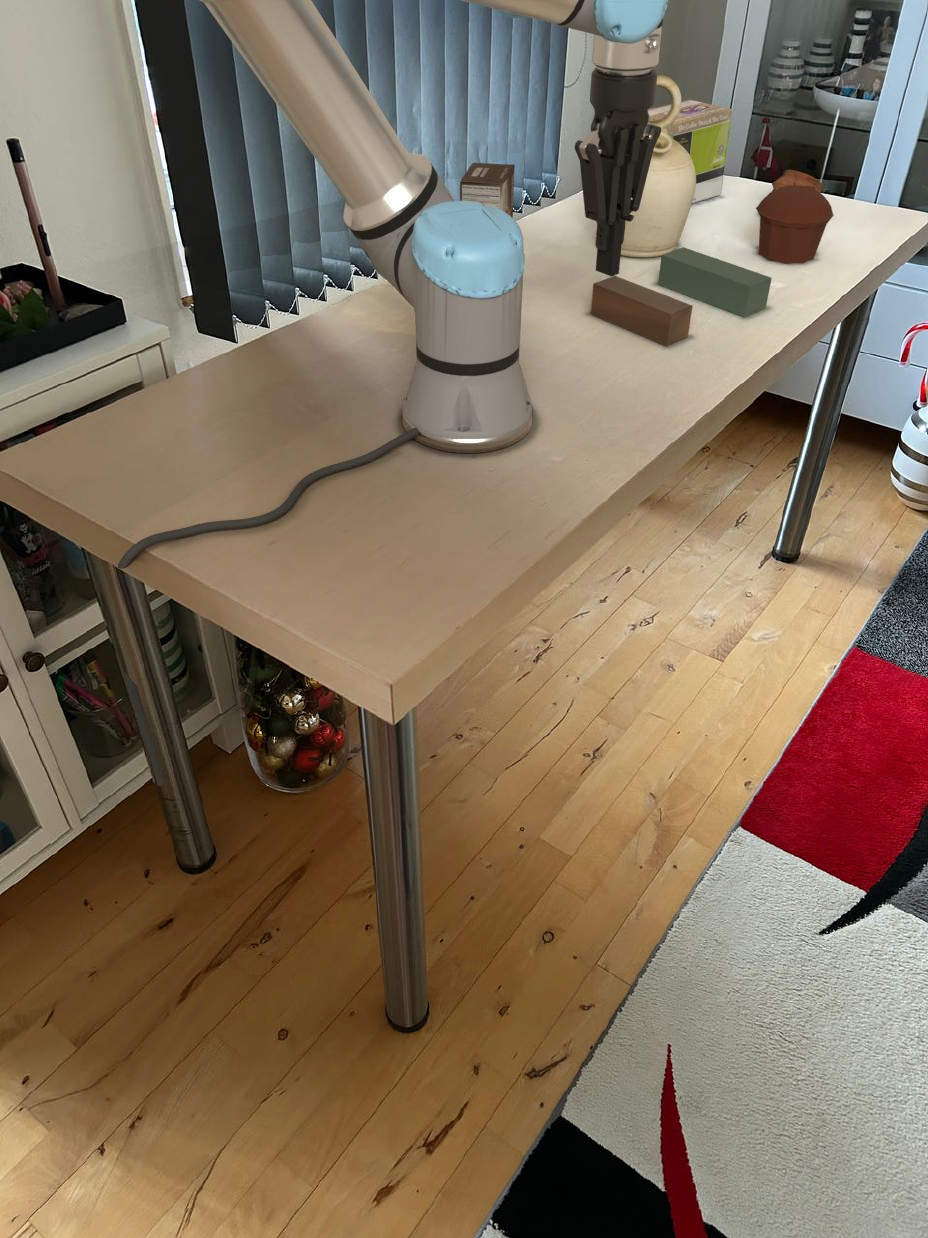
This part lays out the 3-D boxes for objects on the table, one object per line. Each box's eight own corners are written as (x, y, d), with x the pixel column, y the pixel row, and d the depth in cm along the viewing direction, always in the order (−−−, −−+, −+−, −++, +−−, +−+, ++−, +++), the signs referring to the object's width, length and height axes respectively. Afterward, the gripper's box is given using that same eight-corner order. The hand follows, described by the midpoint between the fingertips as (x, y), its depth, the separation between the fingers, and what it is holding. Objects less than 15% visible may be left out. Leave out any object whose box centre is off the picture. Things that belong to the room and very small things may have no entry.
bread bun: (748, 211, 178) (770, 165, 176) (789, 234, 182) (811, 188, 179) (782, 215, 168) (807, 165, 165) (825, 238, 171) (850, 190, 168)
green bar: (744, 317, 142) (750, 286, 139) (657, 284, 151) (661, 254, 148) (765, 308, 144) (772, 277, 142) (679, 276, 154) (683, 246, 151)
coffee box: (470, 270, 155) (472, 160, 145) (511, 274, 154) (515, 163, 144) (458, 293, 148) (459, 179, 138) (501, 297, 147) (504, 182, 137)
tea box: (680, 183, 189) (692, 96, 180) (721, 196, 183) (736, 108, 174) (623, 199, 182) (632, 109, 173) (664, 213, 176) (676, 121, 166)
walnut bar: (666, 346, 135) (671, 314, 132) (590, 314, 143) (593, 283, 140) (688, 337, 137) (693, 305, 134) (611, 305, 145) (614, 275, 142)
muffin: (824, 245, 164) (838, 181, 158) (823, 269, 156) (839, 203, 149) (750, 238, 167) (761, 174, 160) (745, 262, 158) (757, 196, 152)
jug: (678, 267, 157) (703, 90, 141) (581, 255, 160) (595, 81, 144) (693, 235, 168) (718, 67, 152) (602, 224, 171) (617, 59, 155)
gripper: (610, 82, 109) (593, 293, 124) (687, 64, 116) (662, 267, 131) (561, 70, 113) (550, 276, 129) (638, 54, 120) (619, 251, 135)
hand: (607, 271), depth 130 cm, fingers closed
